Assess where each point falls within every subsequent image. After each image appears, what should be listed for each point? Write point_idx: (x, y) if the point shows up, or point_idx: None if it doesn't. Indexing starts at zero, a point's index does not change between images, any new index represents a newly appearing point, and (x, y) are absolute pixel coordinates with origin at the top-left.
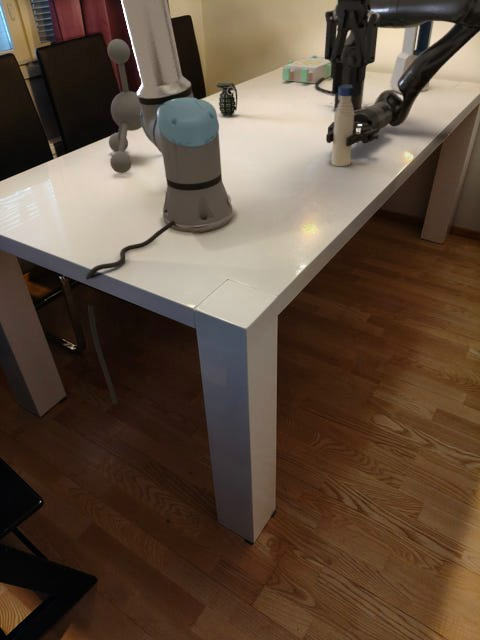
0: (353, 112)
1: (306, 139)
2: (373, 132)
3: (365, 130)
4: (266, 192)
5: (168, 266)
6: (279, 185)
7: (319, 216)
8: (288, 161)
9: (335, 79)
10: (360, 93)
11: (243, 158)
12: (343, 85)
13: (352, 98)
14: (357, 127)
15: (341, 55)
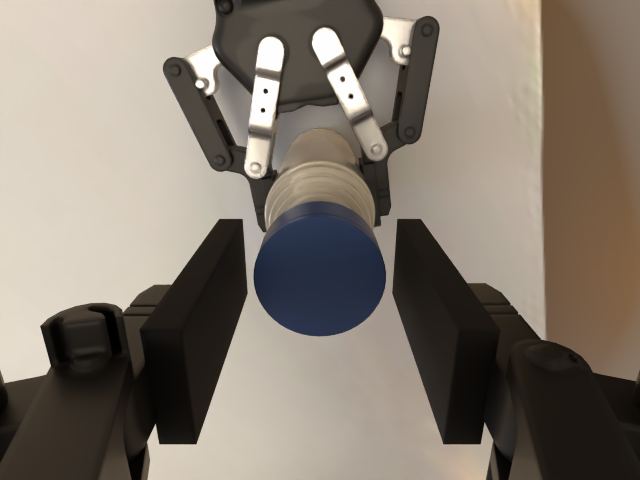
0: (372, 207)
1: (11, 10)
2: (429, 81)
3: (368, 59)
4: (294, 445)
5: None
6: (288, 401)
7: (479, 462)
8: (168, 259)
9: (228, 346)
10: (422, 224)
11: (38, 325)
12: (277, 267)
13: None
14: (345, 104)
15: (122, 399)
